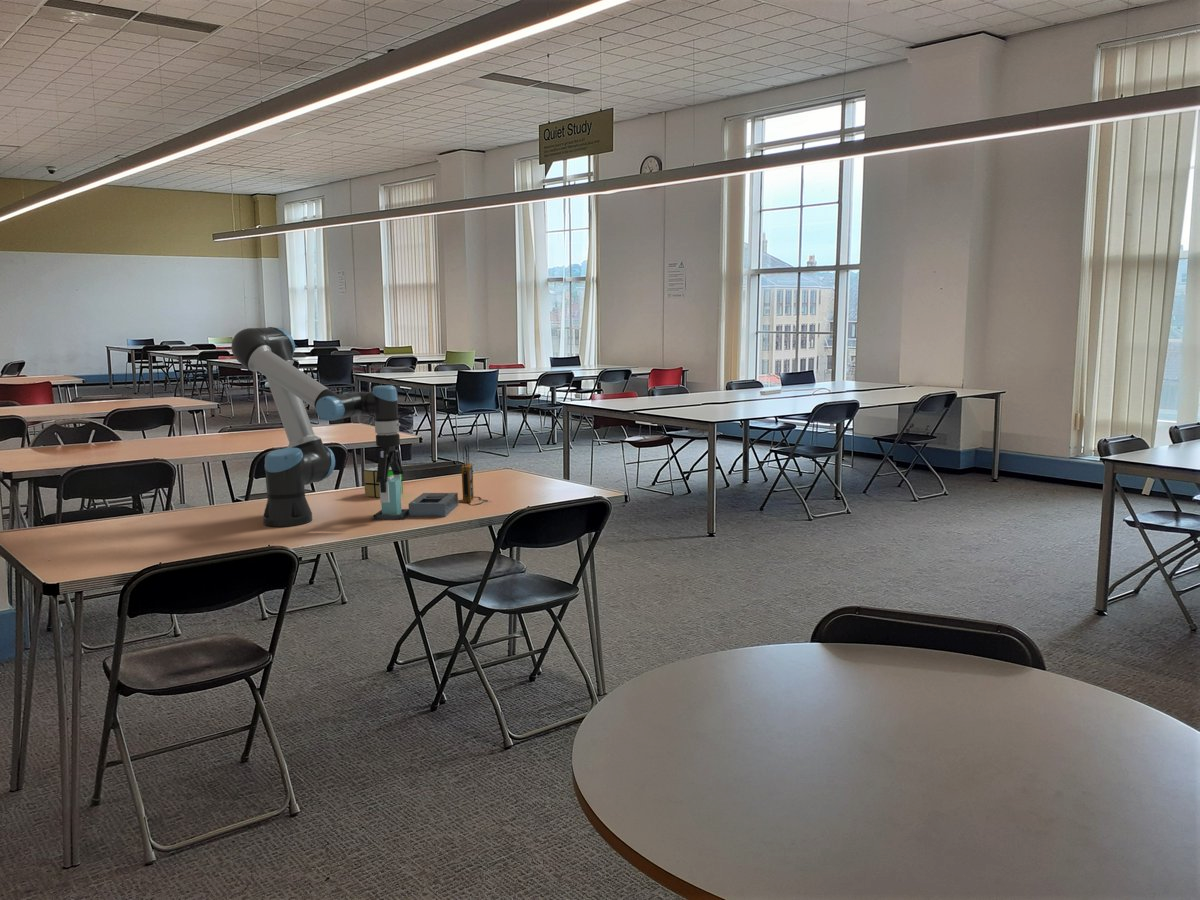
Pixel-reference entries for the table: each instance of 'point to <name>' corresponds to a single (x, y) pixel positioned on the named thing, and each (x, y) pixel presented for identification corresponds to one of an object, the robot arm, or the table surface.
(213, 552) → the table surface
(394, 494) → the light blue juice carton
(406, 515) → the dark grey rectangular tray
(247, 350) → the robot arm
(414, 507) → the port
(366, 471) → the puzzle cube
